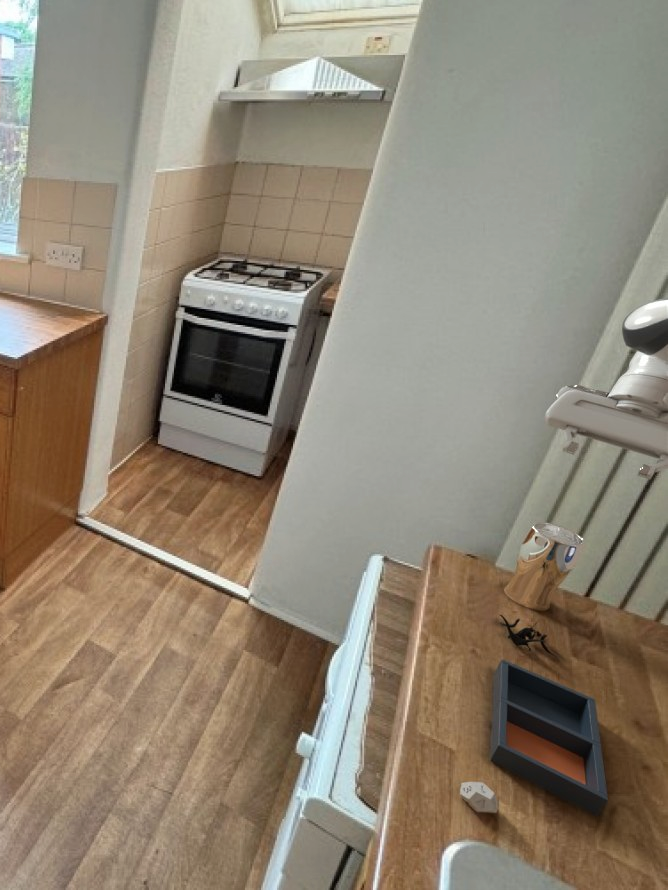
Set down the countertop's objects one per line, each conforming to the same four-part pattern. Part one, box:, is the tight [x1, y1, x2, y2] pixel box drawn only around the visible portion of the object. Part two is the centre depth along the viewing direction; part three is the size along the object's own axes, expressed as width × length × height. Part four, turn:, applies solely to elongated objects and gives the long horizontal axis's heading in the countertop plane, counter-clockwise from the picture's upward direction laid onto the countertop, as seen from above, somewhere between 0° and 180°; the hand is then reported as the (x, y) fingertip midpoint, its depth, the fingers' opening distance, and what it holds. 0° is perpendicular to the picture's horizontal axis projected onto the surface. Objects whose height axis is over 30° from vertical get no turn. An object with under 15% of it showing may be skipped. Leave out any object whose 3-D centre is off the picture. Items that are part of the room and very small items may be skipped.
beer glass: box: [503, 521, 586, 611], centre depth 107 cm, size 7×7×15 cm
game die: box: [459, 781, 499, 814], centre depth 76 cm, size 4×4×3 cm
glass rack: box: [489, 658, 609, 817], centre depth 84 cm, size 19×10×4 cm, turn 136°
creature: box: [499, 614, 558, 659], centre depth 100 cm, size 8×5×8 cm
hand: (604, 463), depth 106 cm, fingers open, 8 cm apart
